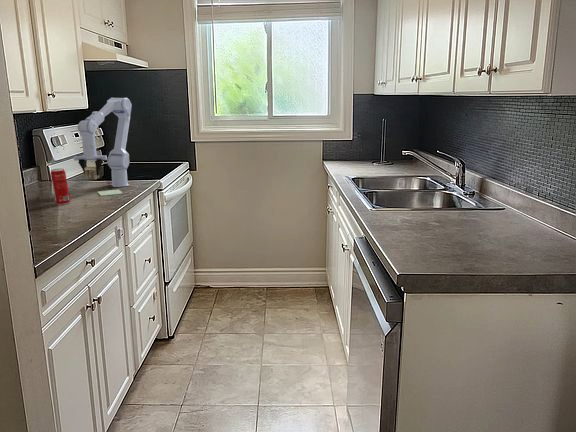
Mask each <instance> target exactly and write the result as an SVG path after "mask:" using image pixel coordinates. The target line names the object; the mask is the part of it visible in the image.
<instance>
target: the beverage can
mask: <svg viewBox="0 0 576 432" xmlns="http://www.w3.org/2000/svg"><path fill="white" fill-rule="evenodd" d="M50 177H51V184H52V188H53V194H54V200H55V204H56V205H59V206H60V205H61V206H63V205H68V204H70V203H71V199H70V198H71V197H70V192H69V186H68V182H67V174H66V170H65V169H64V168H53V169H51V170H50Z"/></svg>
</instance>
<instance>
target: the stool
mask: <svg viewBox="0 0 576 432" xmlns="http://www.w3.org/2000/svg"><path fill="white" fill-rule="evenodd" d="M84 169H85V175H84V180H85V181H87V180H89V179H91V171H93V179H94V180H97V179H100V175H99V176H97V170H96V165H95V166H94V165H93V166H92V165H89V166H88V165H87V167H85V168H84Z"/></svg>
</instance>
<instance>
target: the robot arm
mask: <svg viewBox="0 0 576 432" xmlns="http://www.w3.org/2000/svg"><path fill="white" fill-rule="evenodd" d="M132 106H133V105H132V102H131V100H130V99H129V98H128V97H110V98H109V99H107V100H106V103H105V104H104V105H103V106H102V108H101V109H99V111H92V112H91V114H90V115H89V116H88V117H86V118H85V119H84V120H80V121H79V123H78V124H77V125H78V126H77V130H78V132H79V134H80V136H81V142H82V143H81V144H82V153H83V155H74V156H73V160H74V161H77V163H78V164H79V166H80V167H81V169H82V171H83V173H84V174H83V175H84V176H85V169H84V168H85V167H87V166H88V165H87V164H88V163H87V161H94V164H95V166H96V170H97V176H99V177H100V175H101V173H100V172H101V168H102V165H103V162H104V161H106V162H107V165H108V167H109V169H111V182H112V183H110V185H111V186H112V188H121V187H122V188H123V187H130V186H131V184H129V183H128V173H127V172H128V171H127V169H128V167H129V166H130V154H129V152H128V151H127V150H126V149H127V142H128V134H129V128H130V121H131V114H132ZM111 113H113V114H114V115H115V116H117V118H118V120H117V128H116V135H115V141H114V147H113V149H111V150H109V151H110V152H109V154H108V157H107V154H105V155H103V154H102V155H100V154H99V155H98V153H97V145H96V137H95V136H96V135H95V133H97V130H98V127H99V126H100V125H101V124H102V123H103V122H105V117H106V116H108V115H109V114H111Z"/></svg>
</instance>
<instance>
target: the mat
mask: <svg viewBox="0 0 576 432" xmlns="http://www.w3.org/2000/svg"><path fill="white" fill-rule="evenodd" d="M97 194H99V196H100V197H106V196H116V195H117V196H119V195H123V194H124V193H123V192H122V190H120V189H111V190H110V189H108V190H101V191H98V190H97Z"/></svg>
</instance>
